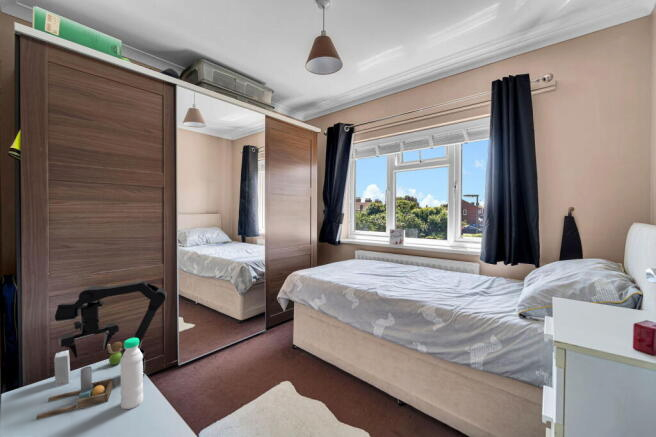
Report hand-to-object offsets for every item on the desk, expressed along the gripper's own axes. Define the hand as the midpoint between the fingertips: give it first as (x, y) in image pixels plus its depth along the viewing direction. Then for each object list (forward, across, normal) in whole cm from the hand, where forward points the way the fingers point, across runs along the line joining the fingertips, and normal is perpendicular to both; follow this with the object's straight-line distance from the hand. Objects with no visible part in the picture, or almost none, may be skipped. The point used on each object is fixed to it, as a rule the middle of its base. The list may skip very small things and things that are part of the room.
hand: (90, 353), depth 117 cm
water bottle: (+13, -8, +27) cm, 31 cm away
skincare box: (+13, +8, -11) cm, 19 cm away
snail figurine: (+13, -10, -10) cm, 19 cm away
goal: (+13, +5, +10) cm, 17 cm away
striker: (+13, +3, +11) cm, 17 cm away
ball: (+11, 0, +12) cm, 16 cm away
